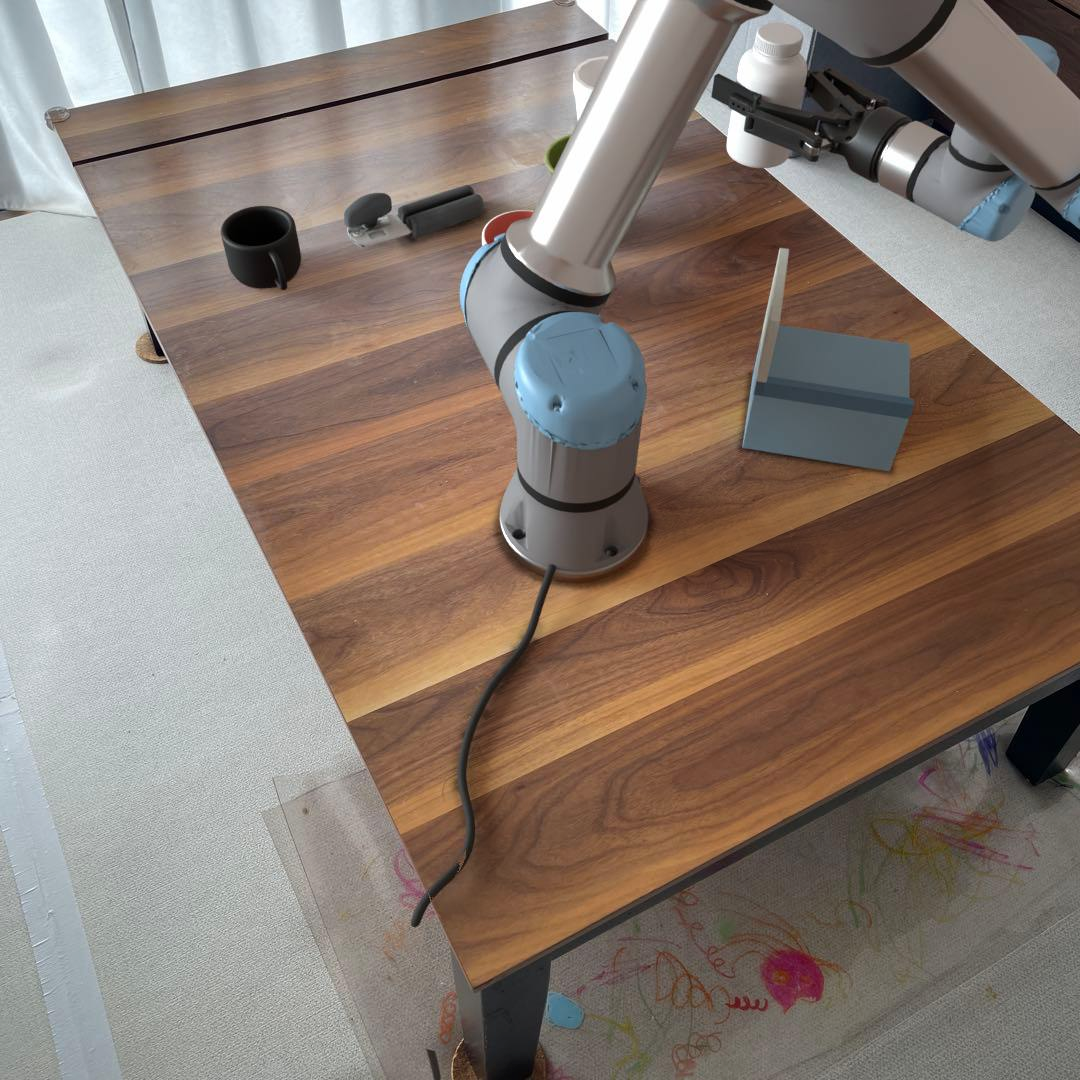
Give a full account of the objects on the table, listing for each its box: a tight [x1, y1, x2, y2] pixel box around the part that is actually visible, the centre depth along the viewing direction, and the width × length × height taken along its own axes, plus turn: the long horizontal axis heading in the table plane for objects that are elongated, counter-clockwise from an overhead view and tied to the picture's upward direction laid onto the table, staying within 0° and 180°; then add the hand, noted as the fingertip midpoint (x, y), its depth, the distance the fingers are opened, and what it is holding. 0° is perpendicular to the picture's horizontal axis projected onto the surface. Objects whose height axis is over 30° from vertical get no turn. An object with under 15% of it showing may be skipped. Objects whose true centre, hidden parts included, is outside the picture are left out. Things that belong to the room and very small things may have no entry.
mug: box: [220, 205, 302, 291], centre depth 138 cm, size 12×9×7 cm
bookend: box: [741, 247, 915, 472], centre depth 119 cm, size 12×16×18 cm
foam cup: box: [572, 55, 609, 121], centre depth 153 cm, size 10×9×13 cm
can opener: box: [343, 184, 485, 249], centre depth 145 cm, size 19×5×6 cm, turn 121°
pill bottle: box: [726, 22, 808, 169], centre depth 132 cm, size 8×8×15 cm
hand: (738, 73), depth 133 cm, fingers closed on pill bottle, 8 cm apart
